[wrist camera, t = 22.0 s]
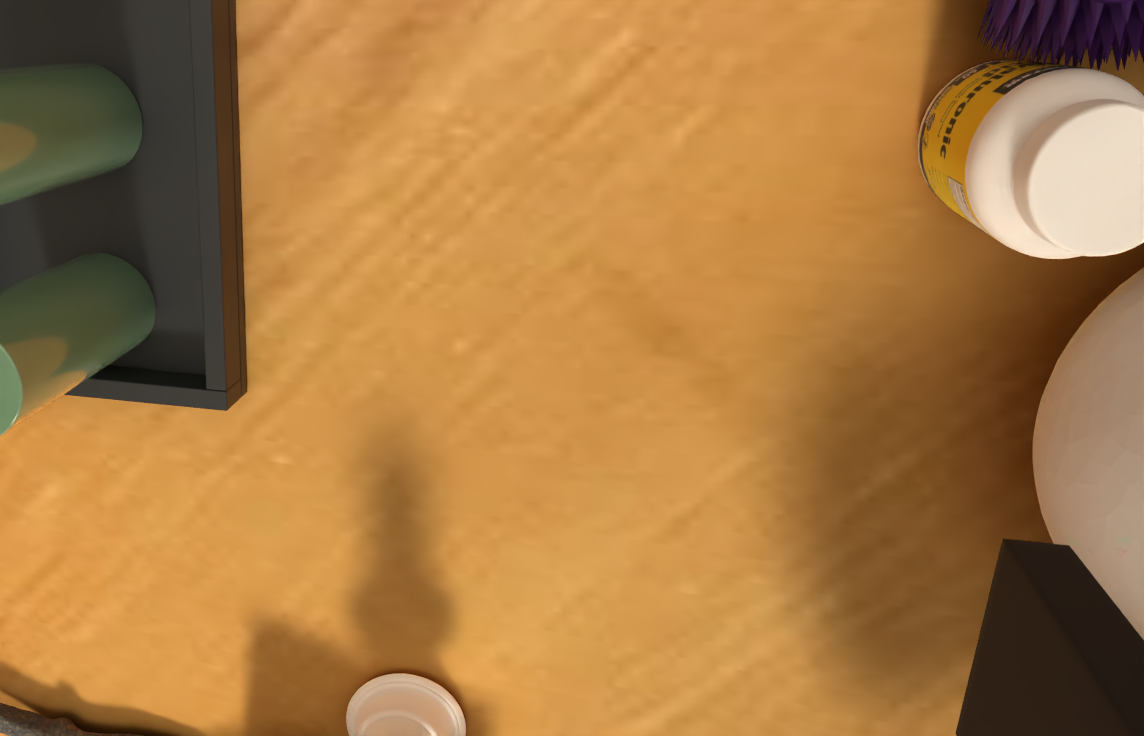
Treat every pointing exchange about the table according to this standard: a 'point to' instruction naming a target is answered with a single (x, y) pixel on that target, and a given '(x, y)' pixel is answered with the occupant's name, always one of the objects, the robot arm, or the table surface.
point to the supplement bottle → (1040, 157)
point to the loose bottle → (67, 329)
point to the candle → (404, 708)
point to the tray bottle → (63, 127)
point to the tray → (149, 188)
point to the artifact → (39, 724)
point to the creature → (1067, 29)
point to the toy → (1099, 447)
